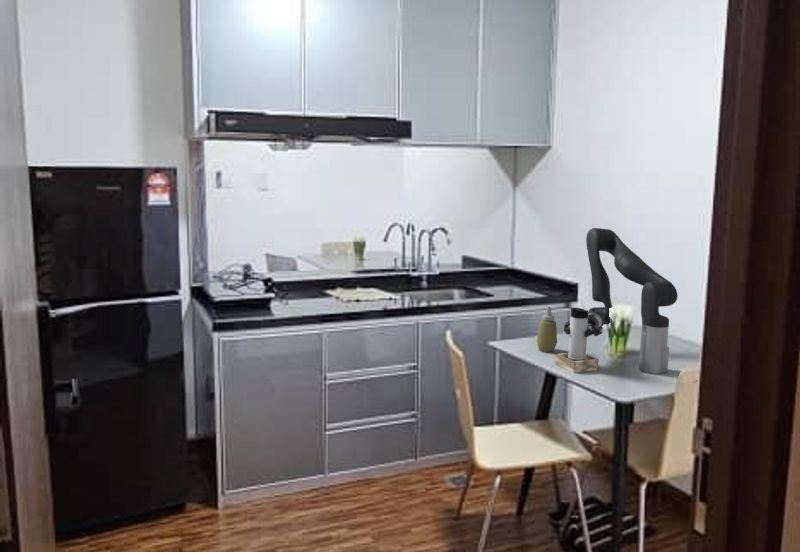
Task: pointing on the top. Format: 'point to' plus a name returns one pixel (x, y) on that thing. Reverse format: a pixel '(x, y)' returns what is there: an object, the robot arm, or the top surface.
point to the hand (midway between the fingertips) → (576, 333)
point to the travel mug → (578, 334)
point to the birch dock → (576, 363)
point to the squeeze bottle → (547, 332)
